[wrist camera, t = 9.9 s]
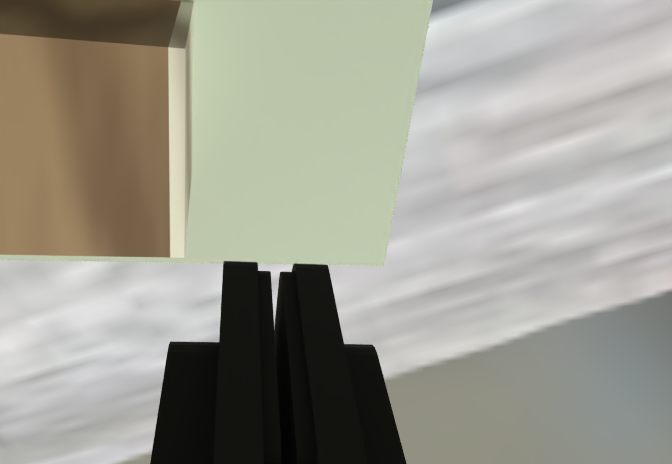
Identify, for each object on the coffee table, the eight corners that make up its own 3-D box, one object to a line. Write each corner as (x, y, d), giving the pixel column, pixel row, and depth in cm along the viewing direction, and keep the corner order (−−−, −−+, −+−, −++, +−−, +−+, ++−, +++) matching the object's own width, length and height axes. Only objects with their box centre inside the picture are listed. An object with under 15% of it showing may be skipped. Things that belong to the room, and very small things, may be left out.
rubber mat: (446, -106, 21) (452, -105, 20) (380, 258, 27) (383, 265, 27) (-407, -223, 16) (-427, -225, 16) (-233, 247, 23) (-244, 256, 22)
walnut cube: (185, 49, 15) (-90, 26, 14) (184, 257, 18) (-44, 253, 17) (193, 2, 20) (-8, -17, 19) (192, 171, 23) (17, 164, 22)
